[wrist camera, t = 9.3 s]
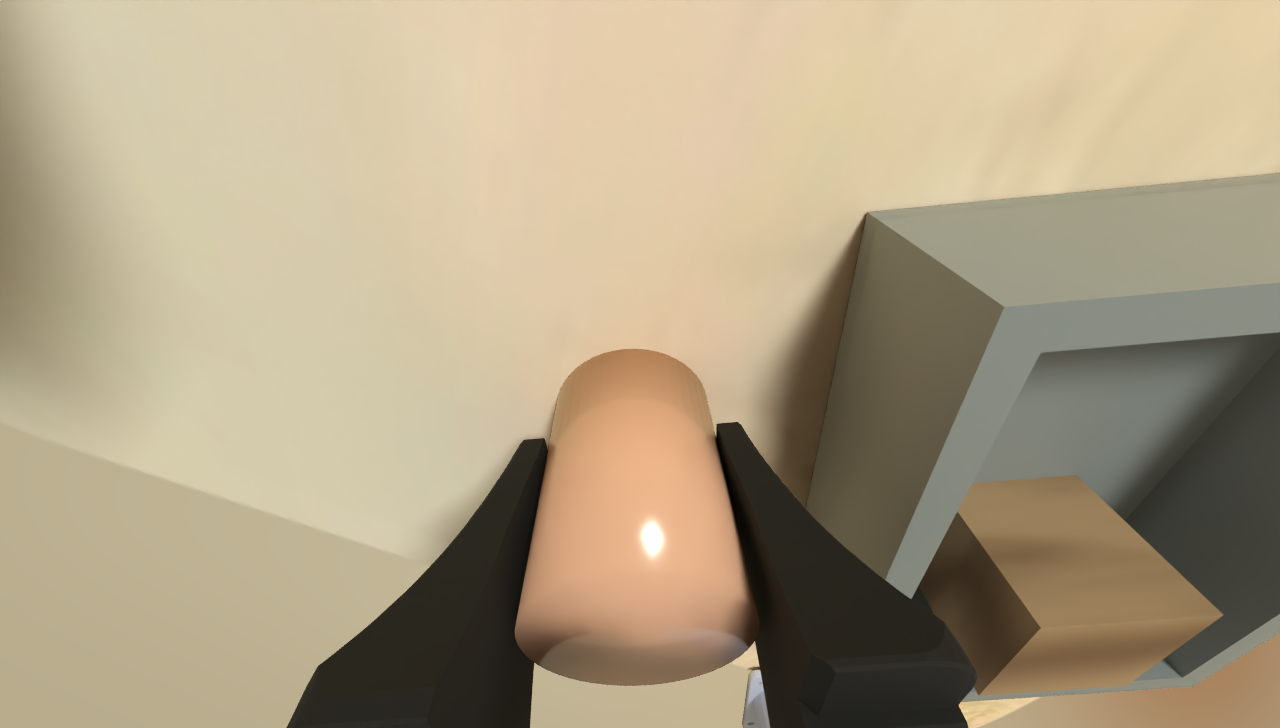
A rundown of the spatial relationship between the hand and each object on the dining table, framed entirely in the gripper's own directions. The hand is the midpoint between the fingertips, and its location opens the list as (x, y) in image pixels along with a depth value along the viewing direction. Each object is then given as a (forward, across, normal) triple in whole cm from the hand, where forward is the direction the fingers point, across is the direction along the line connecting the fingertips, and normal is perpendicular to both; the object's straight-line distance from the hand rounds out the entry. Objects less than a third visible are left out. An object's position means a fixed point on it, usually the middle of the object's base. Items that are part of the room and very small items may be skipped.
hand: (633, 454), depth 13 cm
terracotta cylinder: (+2, 0, 0) cm, 2 cm away
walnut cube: (+1, -14, +7) cm, 15 cm away
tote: (+2, -14, +3) cm, 14 cm away
